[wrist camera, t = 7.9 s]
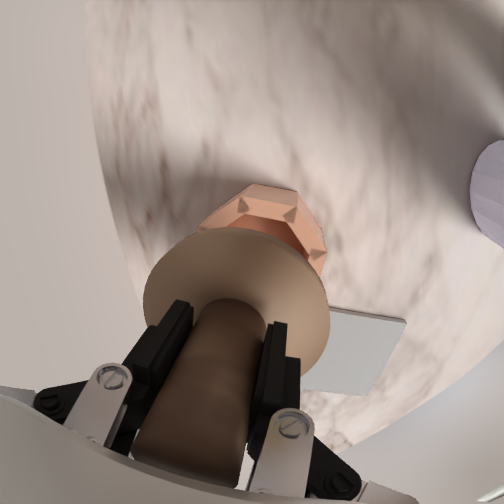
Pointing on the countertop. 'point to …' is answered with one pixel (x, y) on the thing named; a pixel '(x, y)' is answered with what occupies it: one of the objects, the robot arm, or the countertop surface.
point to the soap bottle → (489, 192)
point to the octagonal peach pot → (273, 220)
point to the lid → (224, 344)
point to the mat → (354, 353)
